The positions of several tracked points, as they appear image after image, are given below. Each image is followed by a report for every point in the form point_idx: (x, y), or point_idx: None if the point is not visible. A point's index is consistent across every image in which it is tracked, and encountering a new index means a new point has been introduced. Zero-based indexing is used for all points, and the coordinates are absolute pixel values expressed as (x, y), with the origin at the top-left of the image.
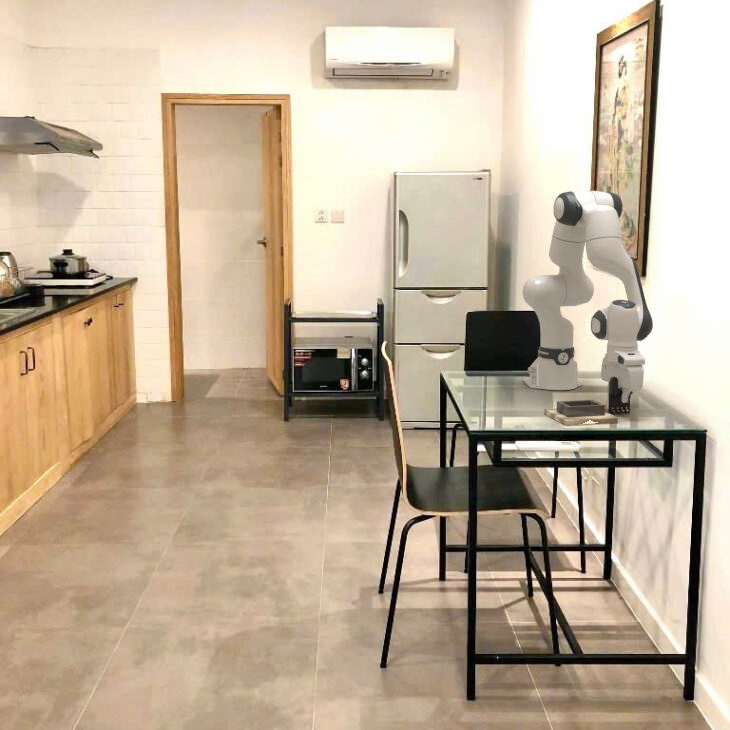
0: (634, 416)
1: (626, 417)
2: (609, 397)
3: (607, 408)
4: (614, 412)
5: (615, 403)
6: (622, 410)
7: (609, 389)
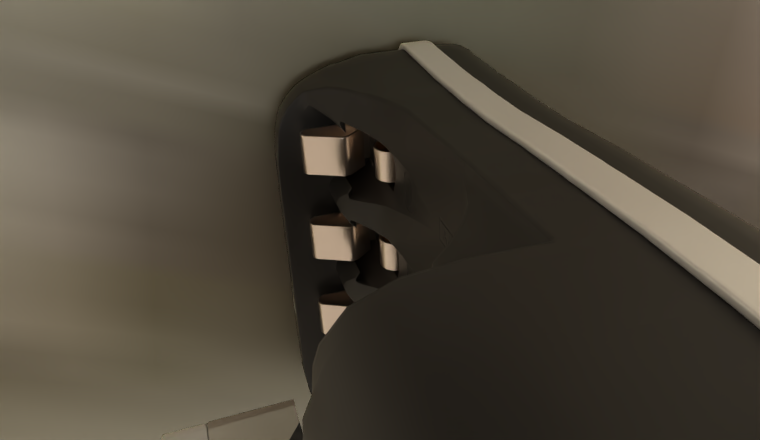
0: (153, 422)
1: (57, 300)
2: (485, 183)
3: (479, 63)
4: (278, 150)
5: (424, 262)
6: (332, 312)
7: (653, 336)
